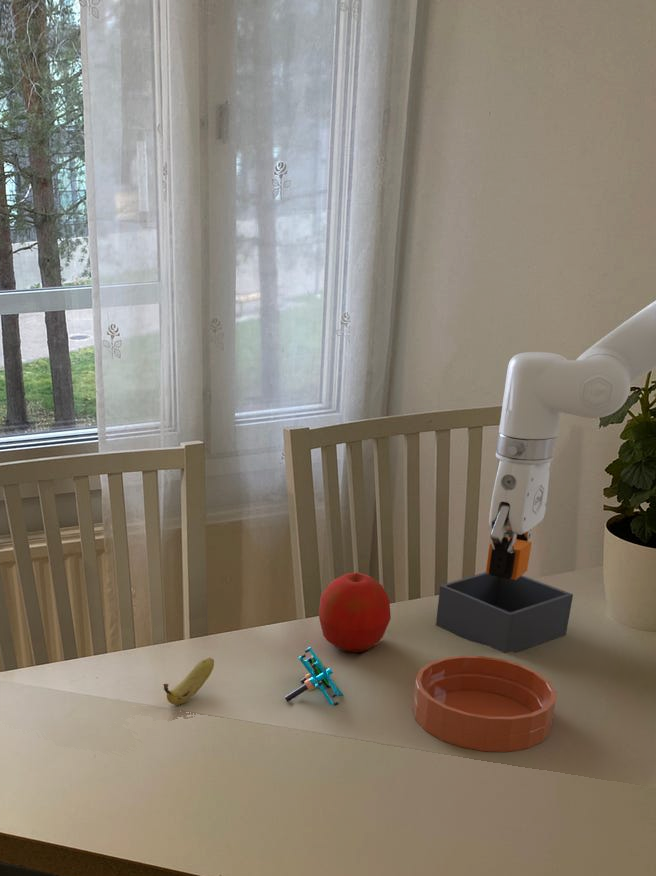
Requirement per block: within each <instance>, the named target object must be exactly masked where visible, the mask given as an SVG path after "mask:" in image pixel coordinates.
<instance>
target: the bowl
mask: <svg viewBox="0 0 656 876" xmlns="http://www.w3.org/2000/svg"><path fill="white" fill-rule="evenodd" d="M556 699H557V690H556V689H555V688H554V685H553V684H552V683H551V681H550V680H549V679H547V678H546V677H545V676H544V675H543V674H541V673H539V672H538V671H536V670H534V669H532V668H529V667H527V666H525V665H523V664H521V663H517V662H513V661H511V660H506V659H503V658H497V657H490V656H484V655H456V656H448V657H442V658H439V659H436V660H434V661H430V662H428V663H427V664H425V665H424V666H423V667H421V668H420V669H419V670H418V672H417V674H416V677H415V680H414V691H413V700H412V701H413V702H412V713H413V716H414V720H415V721H416V722H417V724H418V725H419V726H420V727H421V728H422V729H423V731H426V732H427V733H429V734H431V736H433V737H435V738H437V739H438V740H441V741H443V742H446V743H448V744H451V745H455V746H458V747H460V748H465V749H470V750H476V751H481V752H491V753H492V752H495V753H496V752H497V753H509V752H516V751H522V750H527V749H529V748H532V747H534V746H537V745H538V744H541V743H542V742H543V741H544V740H545V739H546V738H547V737H548V736H549V735H550V734H551V729H552V723H553V717H554V712H555V708H556V707H555V705H556Z"/></svg>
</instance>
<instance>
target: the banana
mask: <svg viewBox="0 0 656 876" xmlns="http://www.w3.org/2000/svg"><path fill="white" fill-rule="evenodd" d="M214 666H215V659H213V658H211V657H207V658H204V659H202V660H201V661H199V662H198V663H197V664H196V665H195V666H193V669H192V670H191V671H190V672H189V673H188V675H187V676H186V677H185V678H184V679H183V680H182V681H181V682H180V683H178V685H177V686H176V687H175V688H173V689H172V690H169V684H168V683H163V690H164V691H165V693H166V699H167V701H168V703H169V704H170V705H173V706H177V705H178V706H179V705H182V704H184V703H186V702H187V701H189V700H190V699H191V698H193V697H194V696H195V695H196V694H197V693H198V691H199V690H200V689H201V688H202V687H203V686H204V684H205V682H206V681H207V680H208V679H209V677H210V675H211V674H212V673H213V670H214Z"/></svg>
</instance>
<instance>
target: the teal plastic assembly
mask: <svg viewBox="0 0 656 876" xmlns="http://www.w3.org/2000/svg"><path fill="white" fill-rule="evenodd" d="M304 652H305V653H303V654H302V655H300V656H298V660H299V661H300V663H301V664H302V665H303V667H304V668H305V670H306V671H307V672H308V673H307V674H305V675H304V677H302V678H301V679H300V683H301V684H302V685H301V686H299V687H298V688H297V689H295V690H293V691H291V692H290V693H289V694H287V695H286V696H284V699H285V701H286V702H287V703H289V702H291V701H292V700H294V699H296V698H297V697H298V696H300V695H301V694H303V693H304V692H306V691H307V690H309V691H312V690H313V689H318V688H319V689H320V691H321V693H322V694H323V696H324V697H325V699H326V700H327V702H328V703H329V705H330V706H337V705H339V702H338V701H337V700H336V701H335V702H333V701H332V699H333V698H335V697H337V696H339V697H344V696H345V695H344V693H343V692H342V691H341V689H340V688H339V687H338V685H337V684H336V682H335V681H334V680H333V678H332V677H331V675H333V673H334V672H333V670H332V669H331V668H330V667H329V668H328V667H327V666H325V665H324V664H323V662H322V661H321V660H320V658H319V657H318V656H317V654H316V653H315V652H314V650H313V648H312V647H311V646H309V647H308V648H306V649H305V650H304ZM307 653H310V654H311V655H310V656H309V657H308V658H307V659H304V658H306V657H307V655H306V654H307ZM327 689H332V690H333V692H334V693H333V694H331V697H330V696H329V694H328V693H327ZM331 698H332V699H331Z"/></svg>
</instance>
